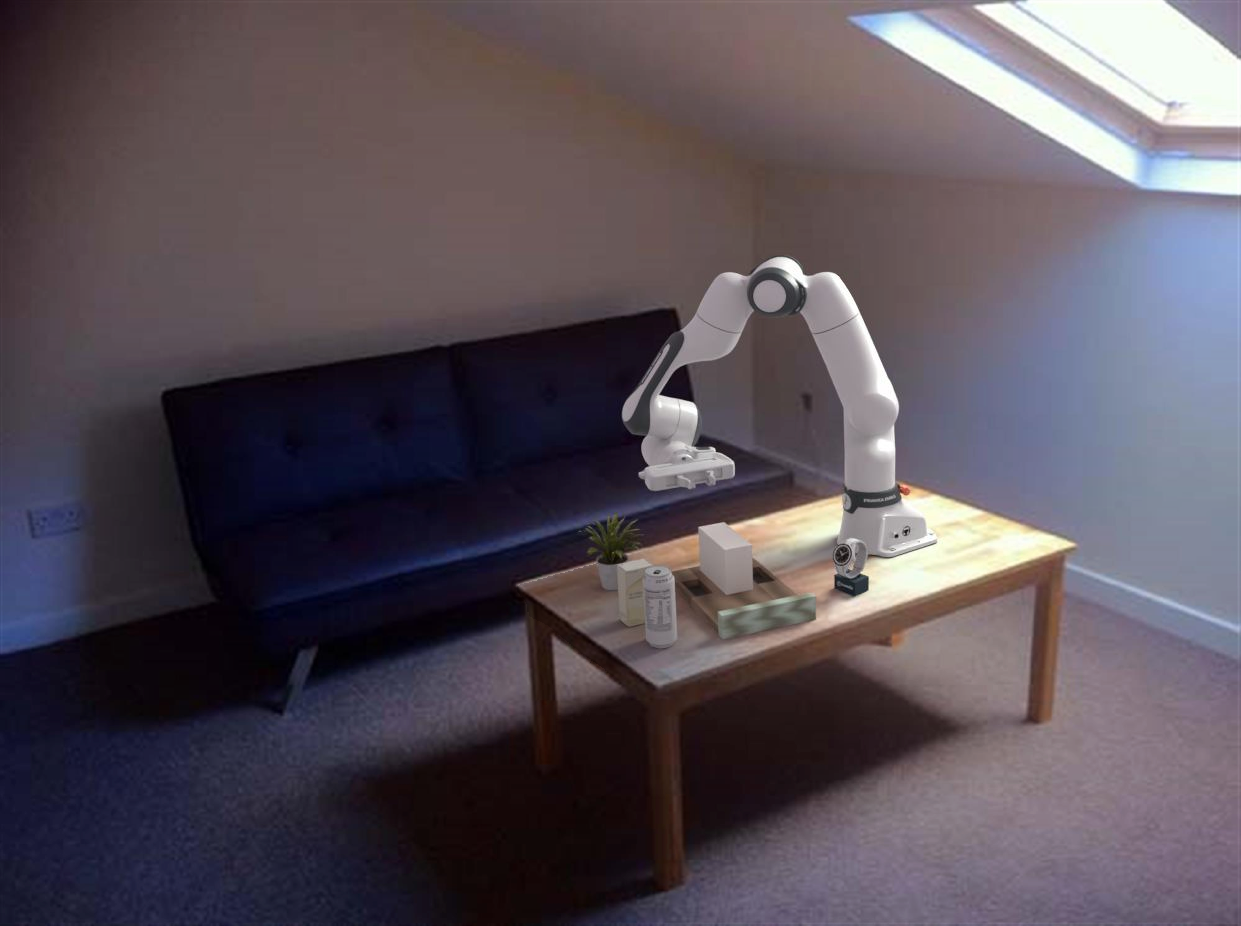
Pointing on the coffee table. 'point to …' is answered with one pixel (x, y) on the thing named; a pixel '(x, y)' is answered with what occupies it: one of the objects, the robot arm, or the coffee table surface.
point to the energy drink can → (659, 606)
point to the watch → (847, 578)
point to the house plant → (611, 550)
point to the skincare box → (632, 591)
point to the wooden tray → (744, 602)
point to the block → (725, 558)
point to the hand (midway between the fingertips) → (702, 483)
